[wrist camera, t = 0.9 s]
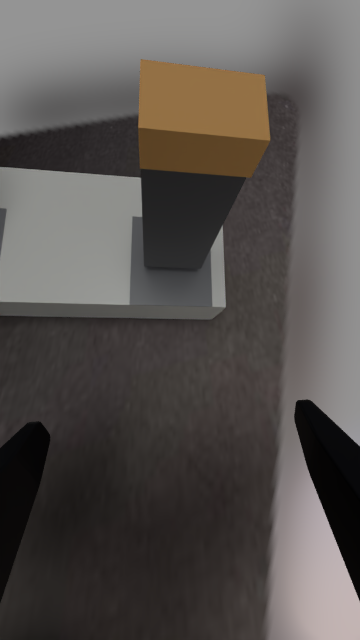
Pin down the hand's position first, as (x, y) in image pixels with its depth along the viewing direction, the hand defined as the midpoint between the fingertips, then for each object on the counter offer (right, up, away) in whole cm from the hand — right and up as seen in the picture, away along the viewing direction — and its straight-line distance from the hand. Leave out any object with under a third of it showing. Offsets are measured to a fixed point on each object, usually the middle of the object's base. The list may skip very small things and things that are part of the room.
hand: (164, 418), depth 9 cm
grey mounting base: (-7, +8, +12) cm, 16 cm away
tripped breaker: (0, +7, +8) cm, 11 cm away
